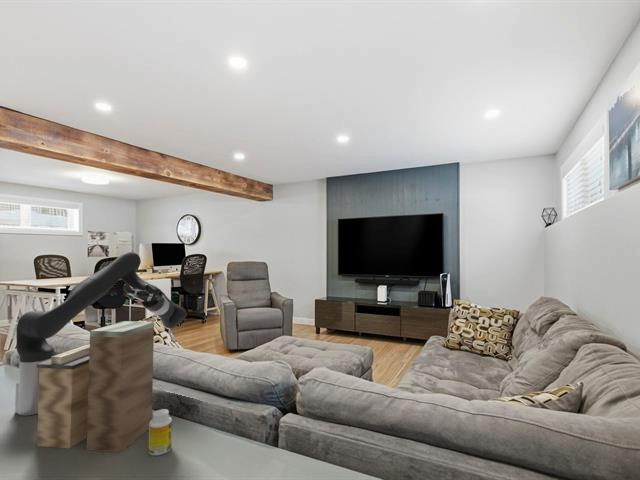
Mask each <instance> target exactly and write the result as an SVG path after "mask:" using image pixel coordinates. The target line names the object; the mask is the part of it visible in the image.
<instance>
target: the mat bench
mask: <svg viewBox="0 0 640 480" xmlns="http://www.w3.org/2000/svg"><path fill="white" fill-rule="evenodd" d="M36 368H40V374H39V403H38V414H37V435H36V438H37V440H36V446H37V447H43V448H44V447H46V448H61V449H71V448H73V447H74V446H76V445H77V444H78V443H80V442H81V441H83V440H85V439H87V420H88V386H89V354H88V355H85V356H83V357H80V358H77V359H74V360H72V361H69V362H66V363H63V364H51V359H50V360H47V361H44V362H41V363H38V364H37V367H36Z"/></svg>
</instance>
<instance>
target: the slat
mask: <svg viewBox="0 0 640 480" xmlns="http://www.w3.org/2000/svg"><path fill="white" fill-rule="evenodd" d="M89 352H90V343H89V344H86V345H83V346H80V347H77V348H74V349H70V350H68V351H64V352H62V353H58V354H54V356H52V357H51V364H63V363H66V362H69V361H72V360H74V359H77V358H80V357H83V356H85V355H88V354H89Z"/></svg>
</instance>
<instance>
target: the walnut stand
mask: <svg viewBox="0 0 640 480" xmlns="http://www.w3.org/2000/svg"><path fill="white" fill-rule="evenodd" d="M154 332H155V322H154V321H137V320H136V321H134V320H133V321H131V320H130V321H129V320H128V321H127V320H123V321H119V322H116V323H112V324H109V325H105V326H102V327H99V328H96V329H92V330H89V344H90V352H89V386H88V420H87V437H86V451H87V450H88V451H100V452H101V451H102V452H111V453H122V452H123V451H124V450H125V449H127V448H128V447H129V446H130V445H132V443H134V442H135V441H136V440H137V439H139V438H140V437H141V436H143V434H145V433H146V432H147V431H149V423H150V421H151V420H152V419H153V385H154V384H153V381H154V343H155V342H154V341H155V340H154V337H155V336H154V335H155V333H154Z"/></svg>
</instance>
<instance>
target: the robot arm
mask: <svg viewBox="0 0 640 480" xmlns="http://www.w3.org/2000/svg"><path fill="white" fill-rule="evenodd" d="M141 262H142V261H141V257H140V255H139V254H137V253H136V252H133V251H125V252H123V253H121V254H120V255H118V257H116V258H115V259H114V260H113V261H112V262H110V263H109V264H108V265H107V266H104V267H103V268H102V269H100V270H98V271H96V272H95V273H93V274H92V275H90V276H88V277H86V278H85V279H83V280H82V281H80V282H79V283H78V284H76V285H75V286H74V287H73V288H71V290H70V292H69V294H68V296H67V298H66V299H65V300H64V301H63V302H62V303H60V304H58V305H57V306H55V307H54V308H52V309H49V310H47V311H45V310H43V311H42V310H30V311H27V312H26V313H24V314H22V315H21V316H20V318H19V319H18V322H17V324H16V330H15V331H16V335H15V336H16V352H17V354H18V356H19V368H18V369H19V371H18V382H17V383H16V384H15V401H14V402H15V403H14V406H15V407H14V413H16V414H18V415H19V416H31V415H32V416H33V415H38V403H39V374H40V368H36V367H37V364H38V363H41V362H44V361H47V360H50V359H51V357H52V356H55V348H54V346H51V345H50V344H49V343H48V341H47V339H50V338H52V337H54V336H55V335H57V334H58V333H59V332H60V331H61V330H62V329H63V328H65V327H66V325H68V323H70V322H71V321H72V320H73V319H74V318H75V317H77V316H79V314H80V313H82V312H83V311H85V310H86V309H87V308H89V306H91V305H93V304H94V303H96V302H97V301H98V300H99V299H101V298H103V296H105V295H106V294H107V293H108V292H109V291H110V290H111V289H112V288H113V287H114V286H115V285H116V283H118V281H119V280H122V281H123V282H124V283H125V284H123V286H122V290H123V291H124V292H123V295H124V296H125V297H126V298H128V299H129V300H131V301H135V299H136V300H138V301H141V305H142V306H143V308H146V309H147V310H148V311H149V312H151V313H152V314H154V315H156V316H157V317H159V319H160V321H161V322H162V325H163V326H164V327H165V328H166V329H168V330H169V329H174V328H175V327H176V326H178V325H179V324H180V323H181V322H182V321H183V320H185V318H187V311H186V309H184V308H183V306H180V305H179V304H176V303H175V302H173V301H172V300H171V299H170V298H169V297H167V295H166V293H165V292H163V291H162V289H160V288H159V287H158V286H156V285H153V284H151V283H150V282H147V281H145V280H143V279H142V278H141V277H140V276H139V275H138V274H137V272H136V271H137V270H138V269H139V267H140V266H141V264H142V263H141ZM137 293H138V294H137Z"/></svg>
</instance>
